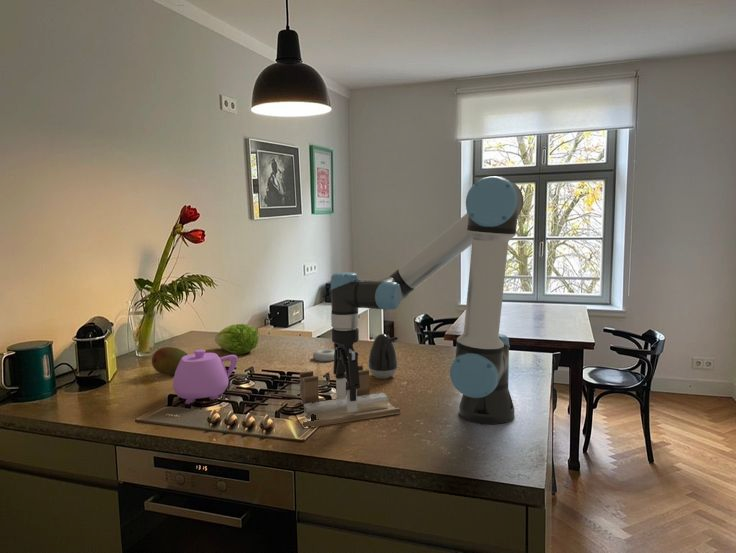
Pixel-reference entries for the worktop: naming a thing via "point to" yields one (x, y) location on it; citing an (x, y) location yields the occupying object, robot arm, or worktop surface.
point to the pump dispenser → (383, 357)
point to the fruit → (167, 359)
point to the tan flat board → (353, 416)
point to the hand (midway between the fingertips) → (346, 405)
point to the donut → (324, 355)
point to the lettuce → (237, 338)
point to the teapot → (202, 375)
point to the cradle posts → (311, 391)
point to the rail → (345, 406)
